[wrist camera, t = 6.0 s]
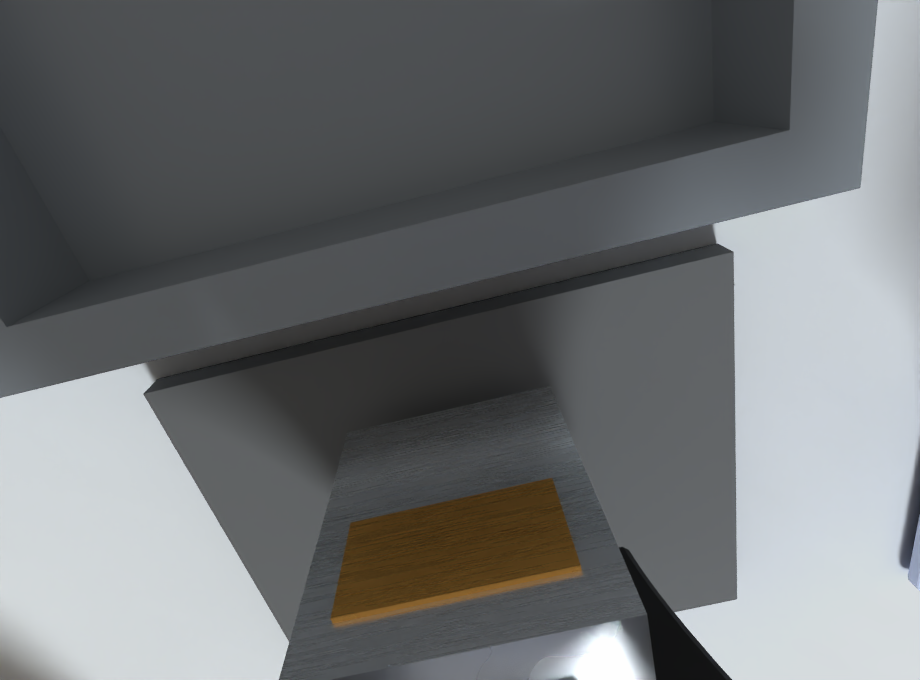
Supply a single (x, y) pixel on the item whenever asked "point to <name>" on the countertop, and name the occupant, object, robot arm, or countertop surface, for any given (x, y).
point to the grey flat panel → (484, 378)
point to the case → (381, 152)
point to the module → (468, 557)
